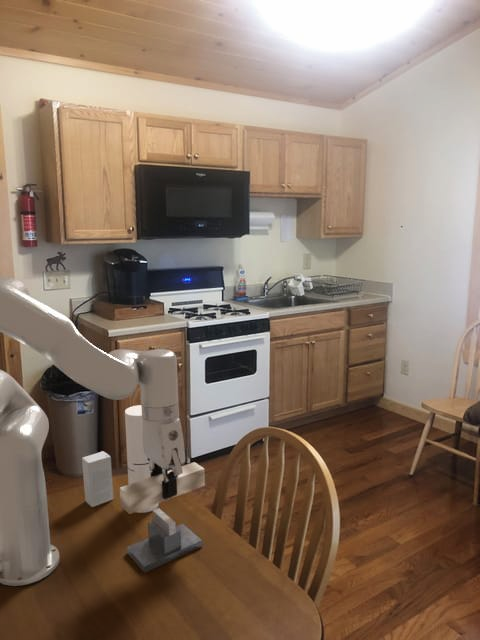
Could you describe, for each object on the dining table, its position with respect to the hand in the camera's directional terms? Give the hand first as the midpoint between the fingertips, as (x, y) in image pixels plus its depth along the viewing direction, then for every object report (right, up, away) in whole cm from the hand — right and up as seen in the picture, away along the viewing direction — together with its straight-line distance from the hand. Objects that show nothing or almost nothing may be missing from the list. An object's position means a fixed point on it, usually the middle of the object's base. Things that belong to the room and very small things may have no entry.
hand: (164, 491), depth 110 cm
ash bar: (0, -1, 0) cm, 1 cm away
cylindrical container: (-8, -10, +20) cm, 24 cm away
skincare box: (-20, -10, +22) cm, 32 cm away
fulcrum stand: (0, -14, +3) cm, 14 cm away
